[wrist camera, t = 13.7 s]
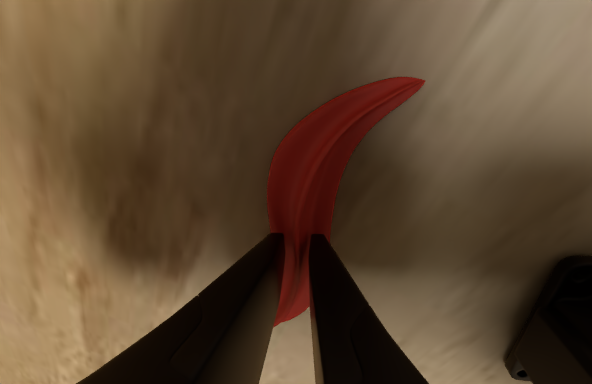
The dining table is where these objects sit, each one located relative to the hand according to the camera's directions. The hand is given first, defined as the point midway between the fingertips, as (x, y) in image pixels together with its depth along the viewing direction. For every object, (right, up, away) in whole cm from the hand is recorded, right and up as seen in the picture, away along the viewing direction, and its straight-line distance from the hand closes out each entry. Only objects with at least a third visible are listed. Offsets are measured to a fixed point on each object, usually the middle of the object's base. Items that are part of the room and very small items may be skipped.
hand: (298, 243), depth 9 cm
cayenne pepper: (0, +1, +1) cm, 1 cm away
